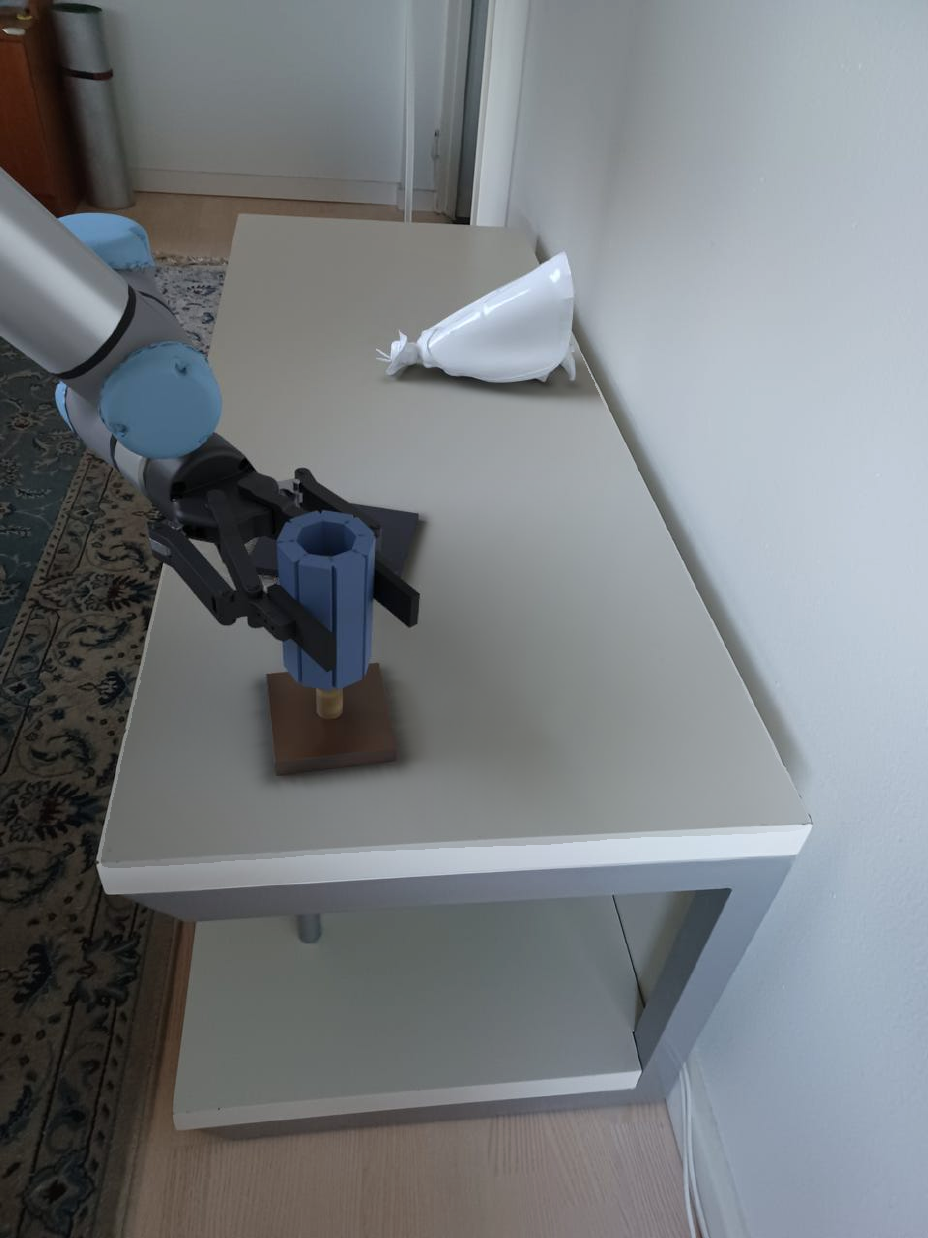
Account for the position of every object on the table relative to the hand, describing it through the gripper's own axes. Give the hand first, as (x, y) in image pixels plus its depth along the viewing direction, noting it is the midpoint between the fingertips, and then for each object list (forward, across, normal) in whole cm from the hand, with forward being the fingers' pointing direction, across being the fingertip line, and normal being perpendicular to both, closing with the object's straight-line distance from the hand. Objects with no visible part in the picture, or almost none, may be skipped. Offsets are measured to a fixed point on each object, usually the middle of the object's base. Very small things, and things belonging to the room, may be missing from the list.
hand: (374, 632), depth 58 cm
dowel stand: (-5, 0, -13) cm, 14 cm away
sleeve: (-5, 0, -6) cm, 8 cm away
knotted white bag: (-42, -50, -13) cm, 67 cm away
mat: (-23, -14, -13) cm, 30 cm away
